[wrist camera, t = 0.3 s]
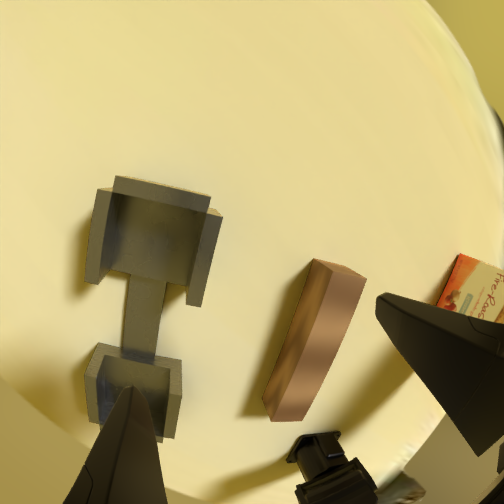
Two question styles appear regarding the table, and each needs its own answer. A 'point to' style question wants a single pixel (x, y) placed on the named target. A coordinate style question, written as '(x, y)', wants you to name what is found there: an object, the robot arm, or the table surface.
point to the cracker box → (475, 290)
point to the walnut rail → (312, 339)
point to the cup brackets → (146, 287)
